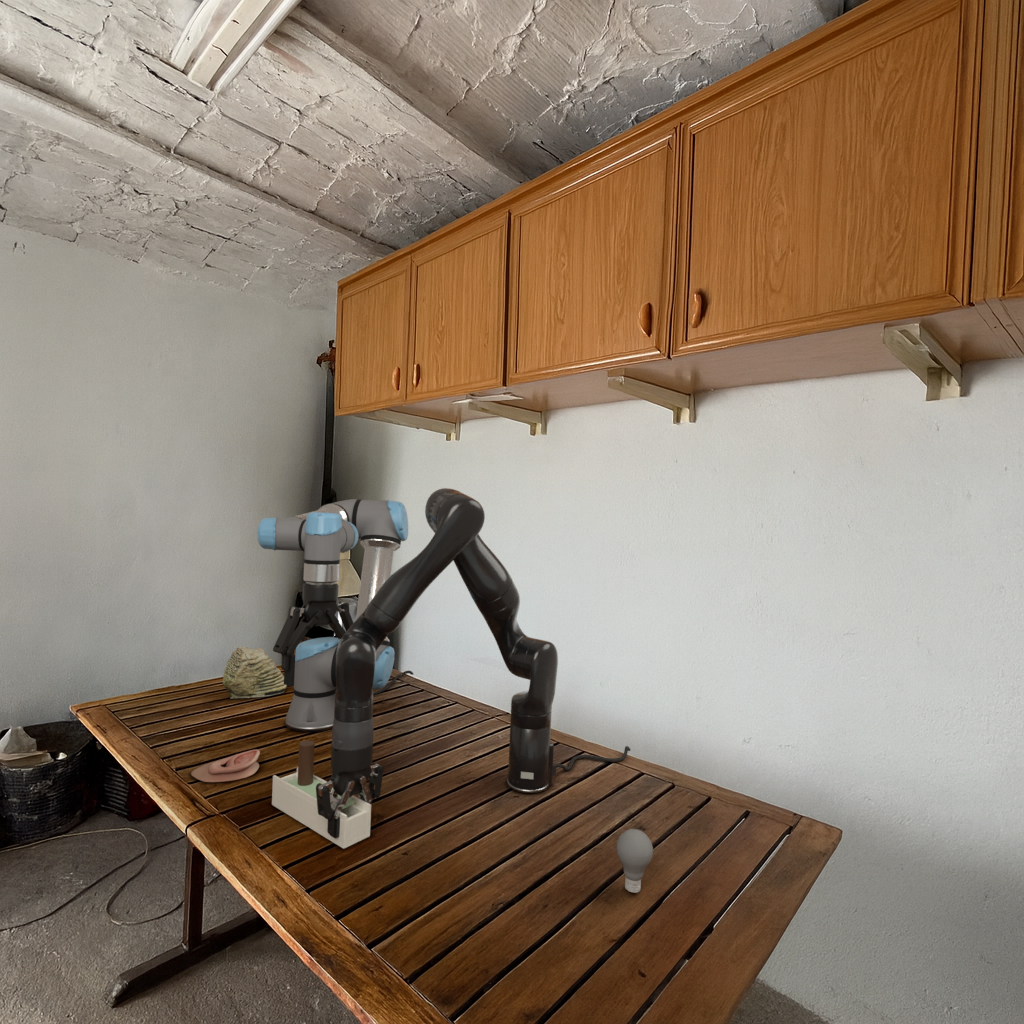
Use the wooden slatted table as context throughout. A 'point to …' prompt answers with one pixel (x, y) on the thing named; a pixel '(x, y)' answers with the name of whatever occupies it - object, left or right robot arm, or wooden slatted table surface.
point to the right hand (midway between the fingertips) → (349, 829)
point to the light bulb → (634, 857)
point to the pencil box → (306, 812)
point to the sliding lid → (309, 771)
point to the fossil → (252, 674)
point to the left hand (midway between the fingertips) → (316, 679)
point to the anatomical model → (229, 768)
